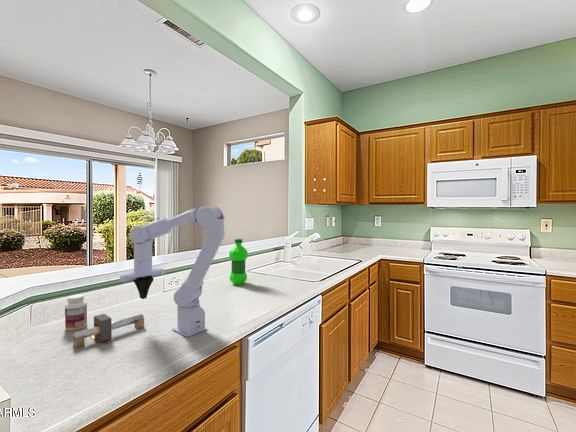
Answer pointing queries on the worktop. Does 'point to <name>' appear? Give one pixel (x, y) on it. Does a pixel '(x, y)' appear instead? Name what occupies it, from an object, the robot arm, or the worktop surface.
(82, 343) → the rail
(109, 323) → the collar
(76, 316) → the pill bottle
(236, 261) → the plastic bottle
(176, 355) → the worktop surface
